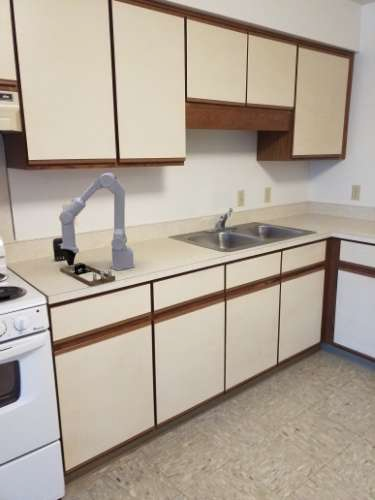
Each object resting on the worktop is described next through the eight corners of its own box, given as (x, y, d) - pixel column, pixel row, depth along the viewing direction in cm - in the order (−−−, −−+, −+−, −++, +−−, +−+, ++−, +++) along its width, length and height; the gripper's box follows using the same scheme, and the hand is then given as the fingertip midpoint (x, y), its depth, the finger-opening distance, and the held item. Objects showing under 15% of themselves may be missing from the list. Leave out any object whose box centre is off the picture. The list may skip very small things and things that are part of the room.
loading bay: (83, 266, 187) (83, 256, 186) (115, 280, 167) (115, 269, 165) (60, 271, 180) (59, 260, 179) (90, 286, 159) (90, 274, 158)
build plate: (72, 278, 171) (71, 268, 170) (63, 275, 176) (62, 265, 175) (96, 272, 180) (95, 262, 179) (87, 269, 185) (86, 259, 184)
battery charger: (55, 262, 195) (53, 239, 192) (53, 260, 198) (51, 238, 196) (69, 260, 199) (68, 237, 196) (67, 258, 202) (65, 236, 199)
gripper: (53, 235, 184) (56, 263, 187) (67, 240, 173) (69, 269, 176) (67, 233, 188) (70, 260, 191) (82, 238, 178) (84, 266, 181)
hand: (70, 265), depth 184 cm, fingers closed
